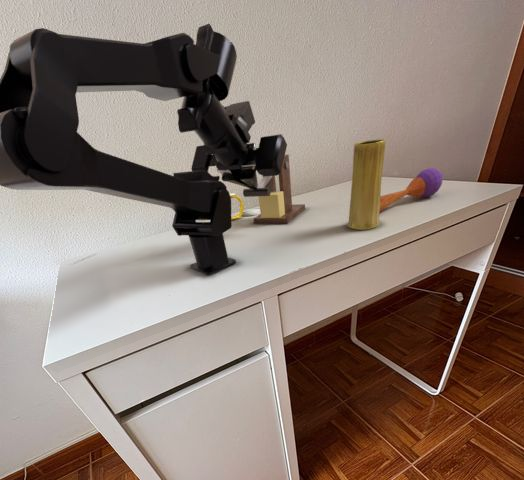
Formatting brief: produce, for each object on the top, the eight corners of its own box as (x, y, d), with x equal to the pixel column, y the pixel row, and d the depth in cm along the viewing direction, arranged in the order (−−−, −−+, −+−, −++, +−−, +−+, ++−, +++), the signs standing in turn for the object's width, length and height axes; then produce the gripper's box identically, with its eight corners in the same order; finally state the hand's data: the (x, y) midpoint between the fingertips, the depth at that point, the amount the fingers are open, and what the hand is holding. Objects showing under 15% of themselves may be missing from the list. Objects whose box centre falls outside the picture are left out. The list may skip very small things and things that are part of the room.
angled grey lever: (269, 199, 62) (266, 188, 60) (244, 200, 64) (241, 189, 63) (290, 167, 68) (288, 156, 66) (267, 169, 70) (265, 158, 69)
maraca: (360, 193, 65) (425, 167, 70) (363, 221, 68) (425, 194, 73) (381, 190, 60) (448, 162, 65) (383, 220, 63) (448, 191, 68)
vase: (384, 222, 60) (394, 137, 51) (369, 231, 57) (377, 143, 48) (357, 219, 64) (362, 140, 55) (342, 228, 61) (344, 145, 52)
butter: (279, 218, 69) (277, 194, 66) (261, 218, 71) (258, 195, 68) (285, 213, 71) (283, 191, 68) (266, 214, 73) (264, 192, 70)
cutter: (287, 223, 68) (282, 159, 61) (254, 223, 72) (245, 163, 64) (305, 209, 76) (302, 150, 68) (274, 209, 80) (268, 154, 72)
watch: (227, 222, 76) (222, 197, 73) (222, 221, 78) (217, 196, 75) (246, 216, 79) (242, 192, 75) (241, 215, 80) (237, 191, 77)
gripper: (276, 68, 44) (305, 146, 58) (182, 92, 52) (228, 155, 66) (260, 138, 44) (293, 199, 58) (168, 151, 52) (216, 202, 66)
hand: (255, 187), depth 62 cm, fingers closed, pressing on angled grey lever
